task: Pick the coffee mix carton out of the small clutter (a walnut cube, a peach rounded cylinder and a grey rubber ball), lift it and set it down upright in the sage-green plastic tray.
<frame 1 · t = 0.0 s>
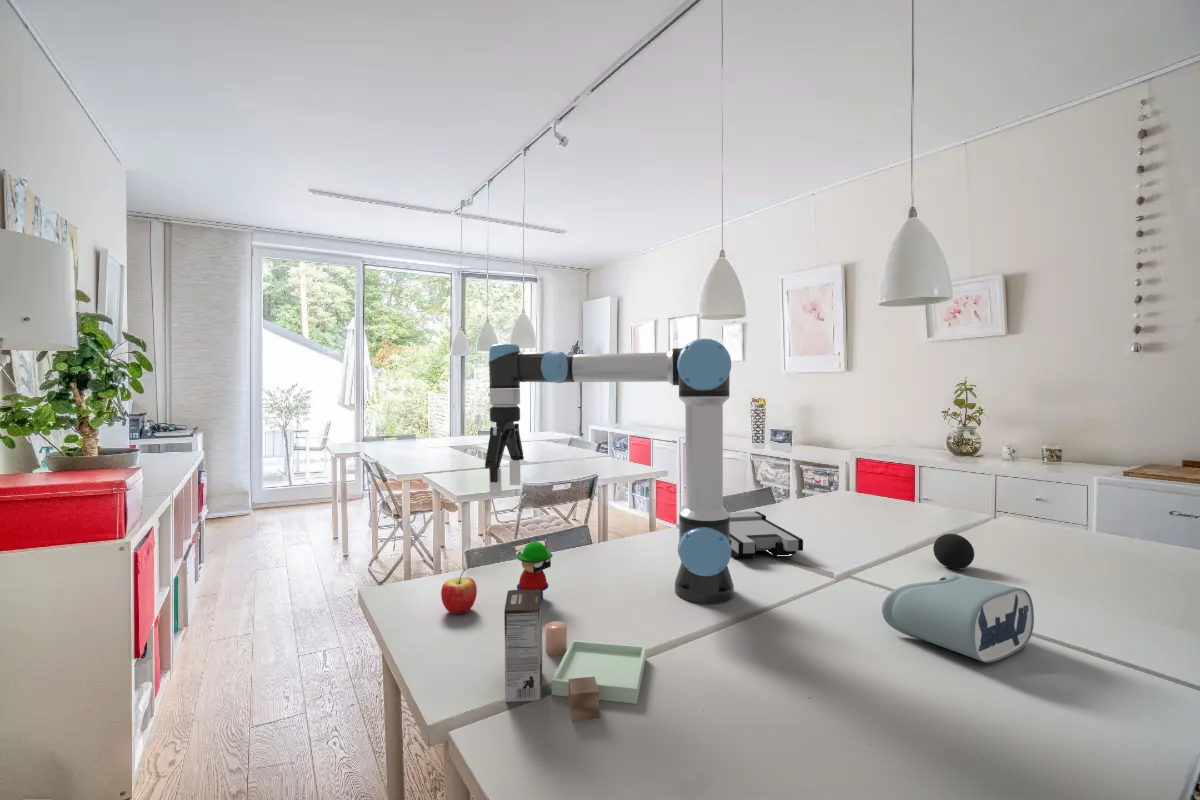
hand: (505, 490, 134), 28 cm above the table, fingers open, 13 cm apart
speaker: (953, 568, 155), on the table
grey ball: (524, 651, 105), point 2 cm above the table
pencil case: (955, 640, 112), on the table
peach rounded cylinder: (556, 650, 109), on the table
walnut cube: (583, 711, 88), on the table
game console: (748, 548, 177), on the table
toy: (534, 601, 133), on the table
tray: (601, 675, 99), on the table
coffee box: (524, 688, 95), on the table
apple: (459, 612, 128), on the table
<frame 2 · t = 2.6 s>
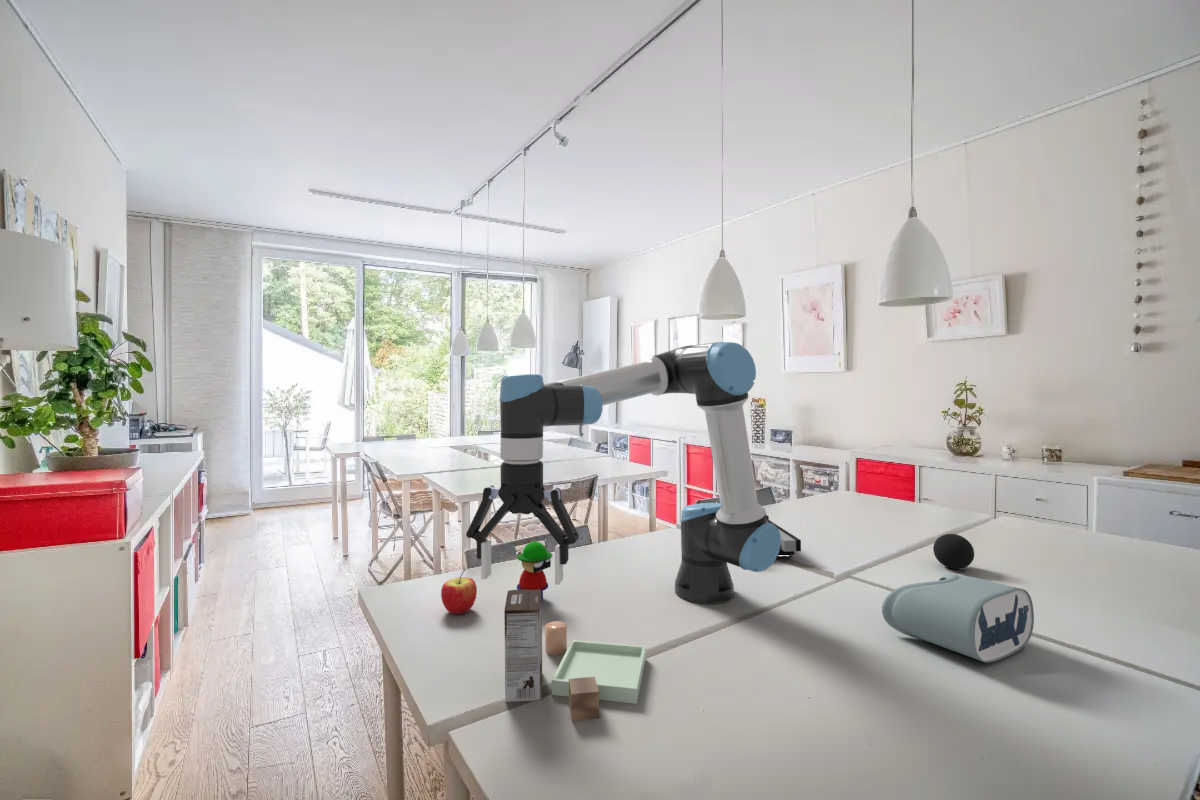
hand: (522, 579, 95), 20 cm above the table, fingers open, 13 cm apart
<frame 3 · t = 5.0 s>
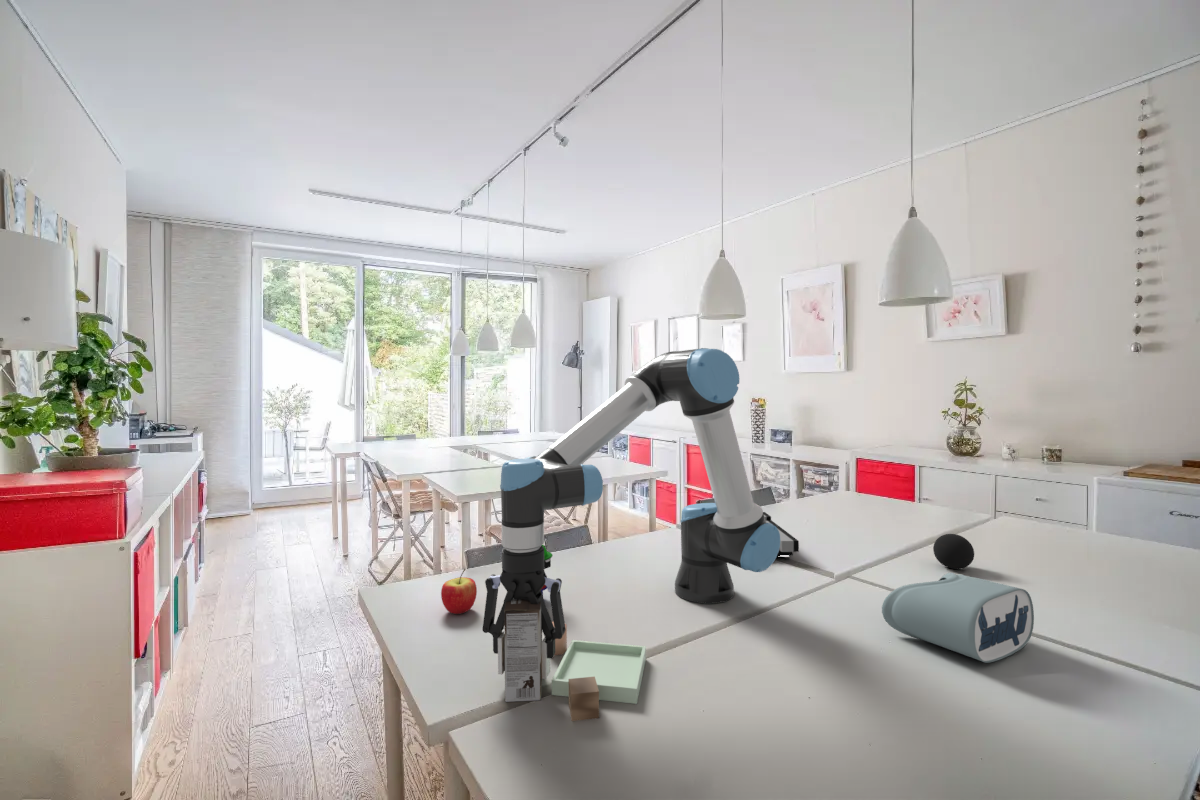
hand: (524, 672, 95), 3 cm above the table, fingers closed on coffee box, 7 cm apart
coffee box: (524, 688, 95), on the table, touching gripper
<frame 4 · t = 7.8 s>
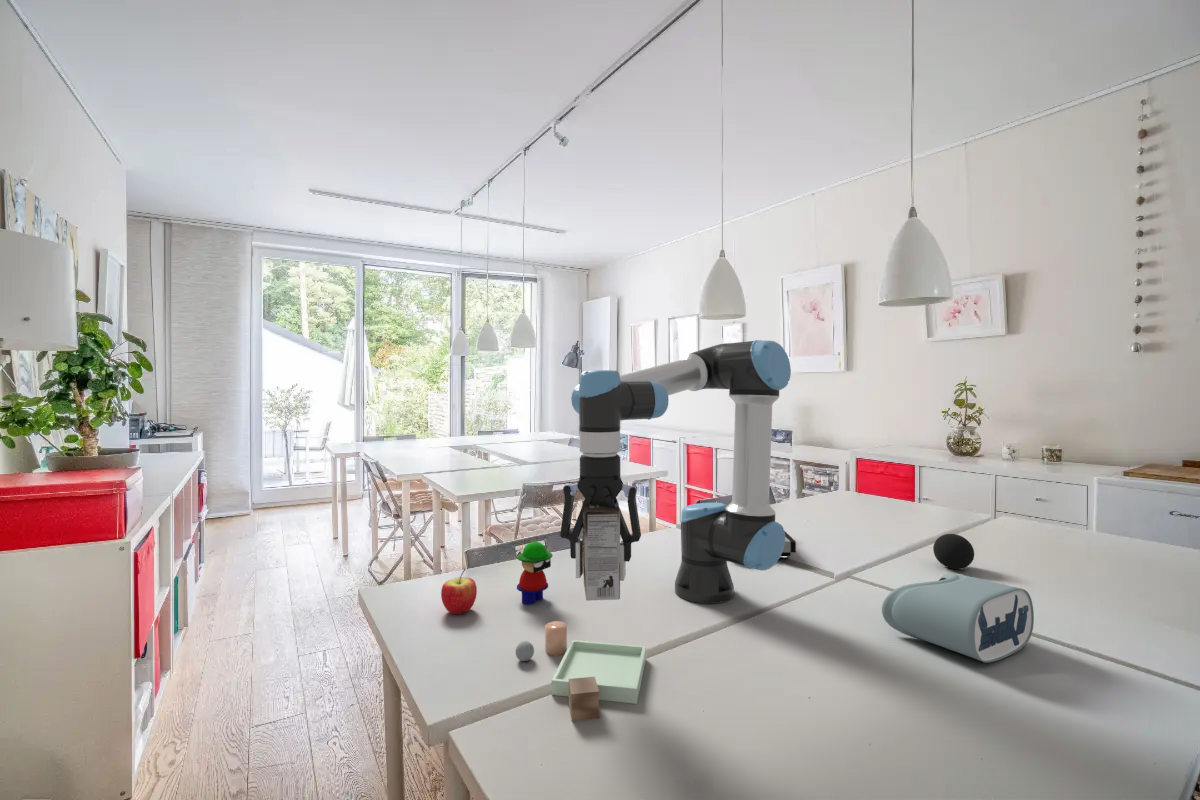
hand: (600, 576, 98), 19 cm above the table, fingers closed on coffee box, 7 cm apart
coffee box: (600, 591, 98), point 16 cm above the table, touching gripper
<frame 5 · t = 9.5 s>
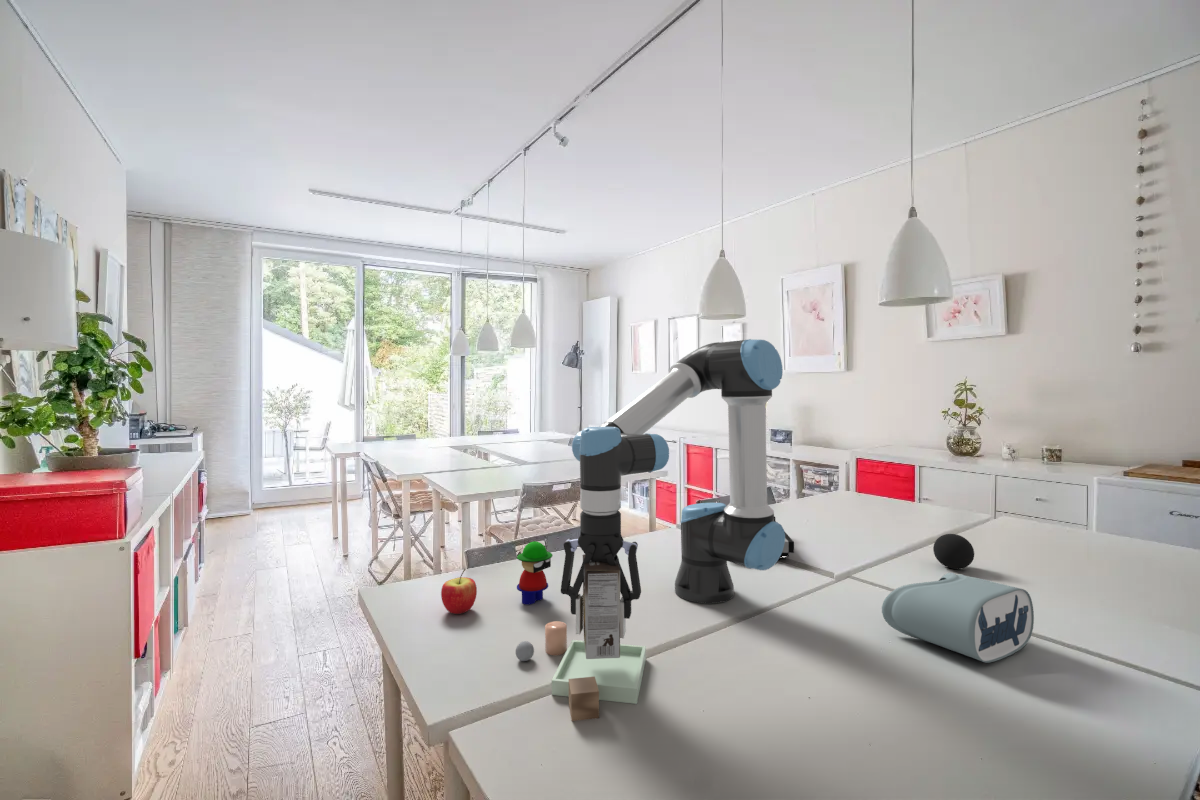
hand: (600, 632, 98), 8 cm above the table, fingers closed on coffee box, 7 cm apart
coffee box: (600, 647, 98), point 5 cm above the table, touching gripper
when the fingers open (5 cm above the table, at t = 11.0 s): coffee box drops 1 cm, resting on tray.
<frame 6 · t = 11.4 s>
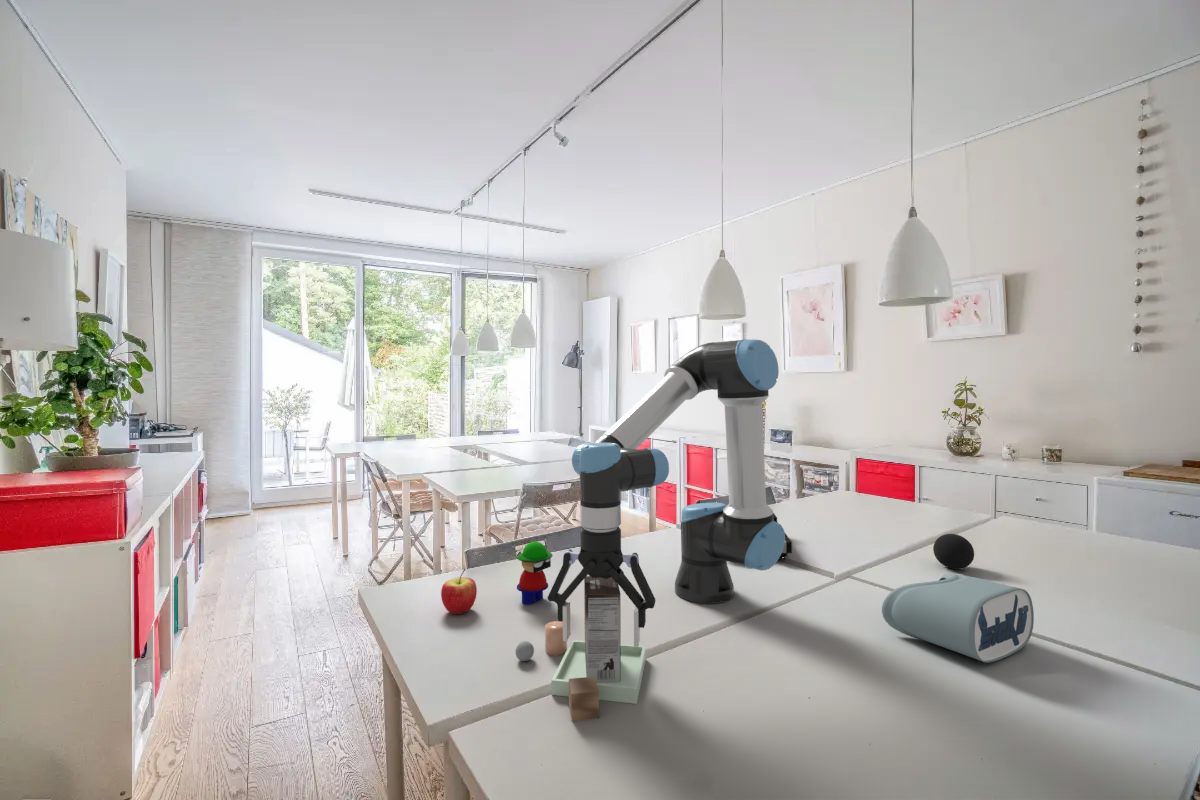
hand: (601, 641, 98), 7 cm above the table, fingers open, 13 cm apart
coffee box: (602, 670, 99), point 1 cm above the table, touching tray
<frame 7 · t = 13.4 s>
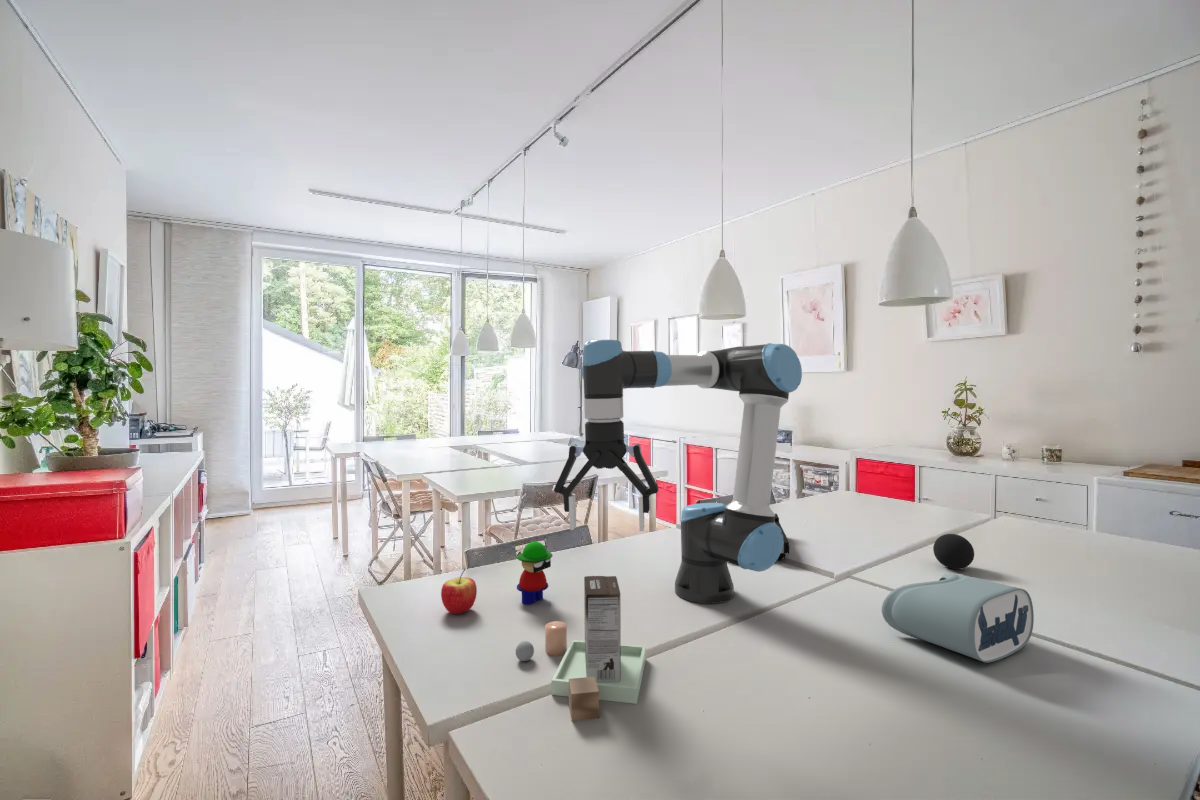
hand: (607, 528, 103), 26 cm above the table, fingers open, 13 cm apart
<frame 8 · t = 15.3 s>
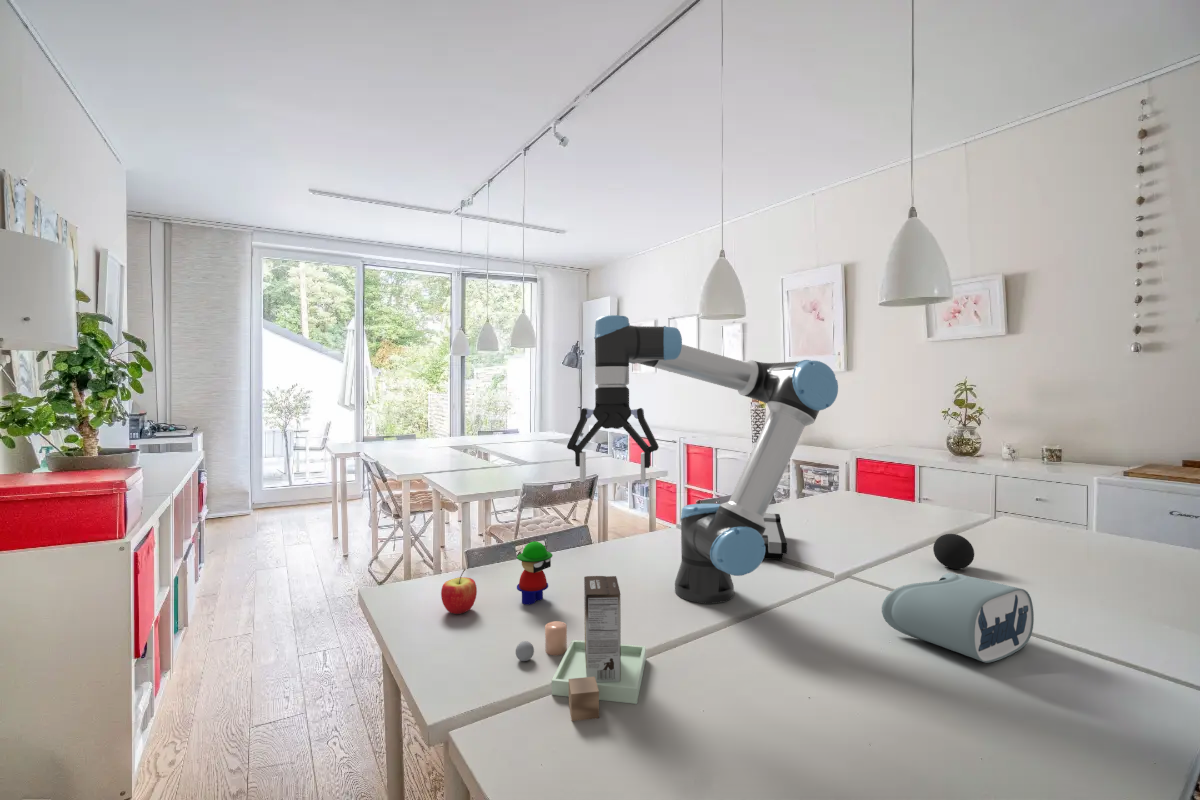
hand: (612, 482, 118), 33 cm above the table, fingers open, 13 cm apart
at the end: coffee box inside the target area on the tray (0.1 cm from its centre), point 1.0 cm above the tray's base; coffee box tilted 0°; the gripper is holding nothing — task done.
